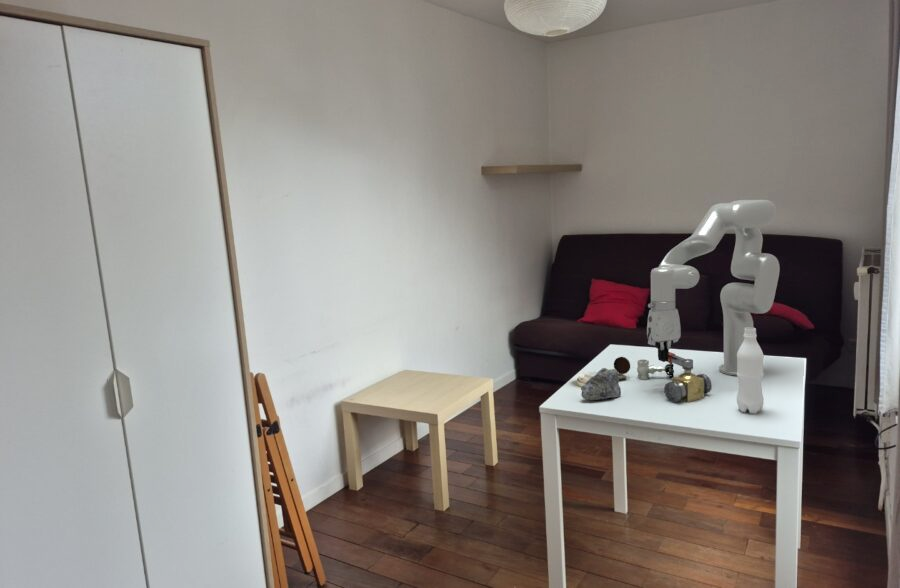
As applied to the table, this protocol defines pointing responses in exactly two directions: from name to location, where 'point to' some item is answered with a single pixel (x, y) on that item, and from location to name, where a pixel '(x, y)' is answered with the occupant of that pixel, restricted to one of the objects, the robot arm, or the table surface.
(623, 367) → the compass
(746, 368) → the water bottle
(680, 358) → the valve lever
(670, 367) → the valve
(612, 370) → the mineral rock
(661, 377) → the table surface
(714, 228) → the robot arm
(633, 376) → the table surface
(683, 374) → the pipe valve
